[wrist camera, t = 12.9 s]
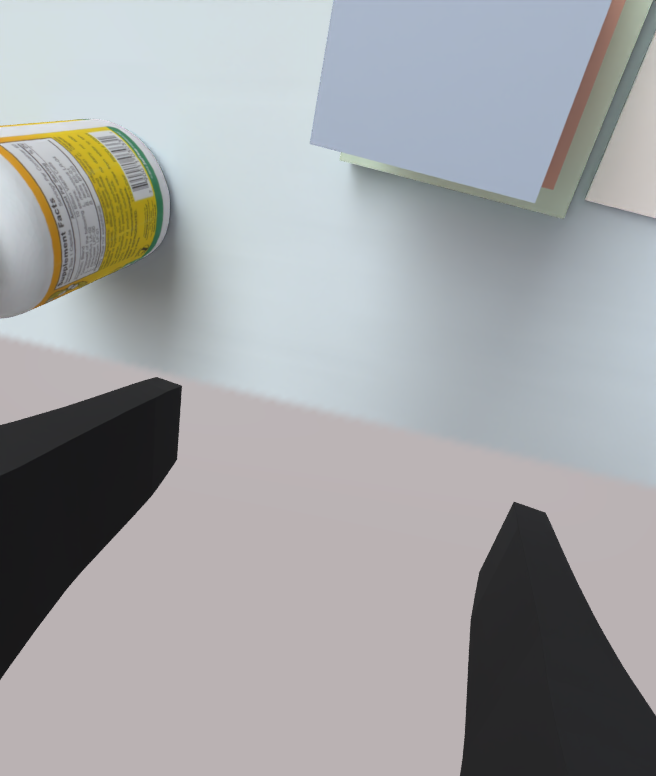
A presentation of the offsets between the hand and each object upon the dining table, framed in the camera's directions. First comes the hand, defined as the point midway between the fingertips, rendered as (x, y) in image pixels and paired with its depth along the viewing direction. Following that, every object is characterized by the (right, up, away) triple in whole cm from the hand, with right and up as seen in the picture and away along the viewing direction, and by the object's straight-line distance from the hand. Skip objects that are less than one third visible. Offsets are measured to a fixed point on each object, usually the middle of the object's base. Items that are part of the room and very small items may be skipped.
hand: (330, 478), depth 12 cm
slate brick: (+3, +9, 0) cm, 10 cm away
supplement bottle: (-8, +10, +10) cm, 16 cm away
